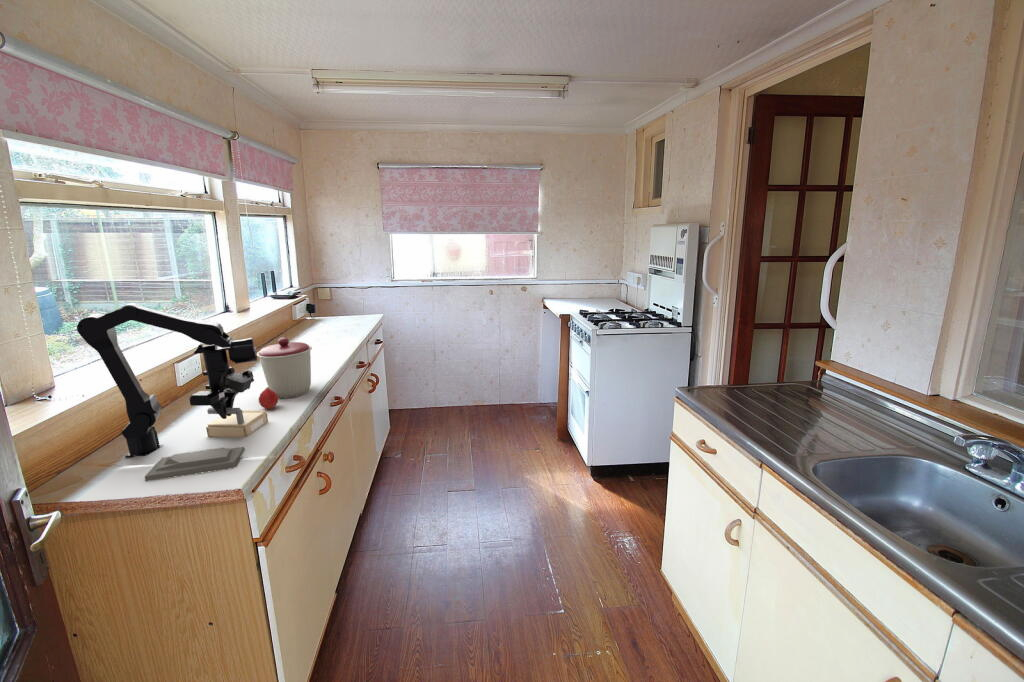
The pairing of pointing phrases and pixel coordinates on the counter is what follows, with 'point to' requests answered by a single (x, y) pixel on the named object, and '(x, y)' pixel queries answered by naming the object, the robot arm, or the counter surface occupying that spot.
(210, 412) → the flap
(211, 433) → the carton
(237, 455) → the soap mold
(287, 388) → the canister
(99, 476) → the counter surface
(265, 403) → the onion
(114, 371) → the robot arm
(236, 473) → the counter surface
